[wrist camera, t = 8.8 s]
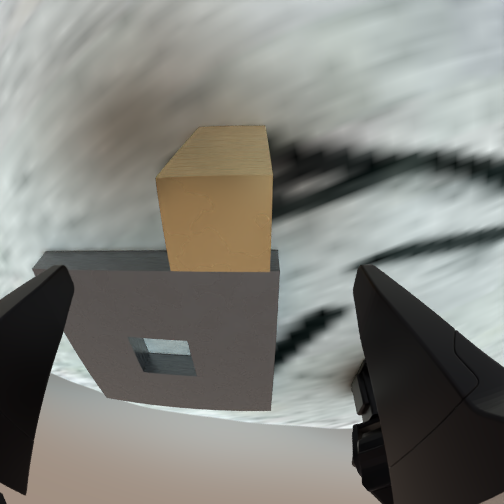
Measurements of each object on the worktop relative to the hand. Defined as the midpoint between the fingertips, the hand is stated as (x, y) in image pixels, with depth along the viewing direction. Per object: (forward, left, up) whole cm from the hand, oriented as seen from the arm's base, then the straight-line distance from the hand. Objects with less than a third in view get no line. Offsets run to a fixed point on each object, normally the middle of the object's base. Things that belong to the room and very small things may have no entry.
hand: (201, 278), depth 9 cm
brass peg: (0, 0, -12) cm, 12 cm away
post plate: (+7, +17, -12) cm, 22 cm away
